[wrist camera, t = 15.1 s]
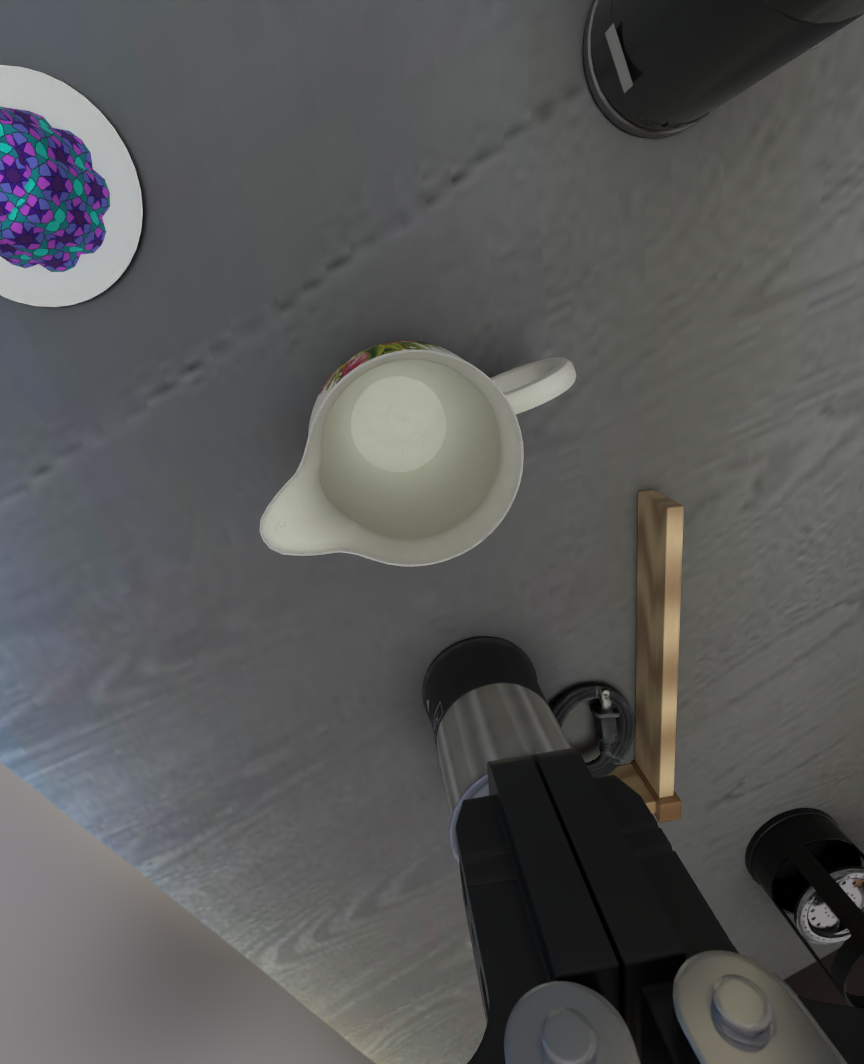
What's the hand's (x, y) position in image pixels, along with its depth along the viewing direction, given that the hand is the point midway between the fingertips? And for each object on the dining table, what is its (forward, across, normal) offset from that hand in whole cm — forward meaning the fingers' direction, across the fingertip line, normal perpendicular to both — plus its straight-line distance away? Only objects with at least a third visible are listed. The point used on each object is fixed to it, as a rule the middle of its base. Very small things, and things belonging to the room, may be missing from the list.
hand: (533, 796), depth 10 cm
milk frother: (+33, +8, -21) cm, 40 cm away
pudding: (+33, -19, +17) cm, 42 cm away
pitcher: (+33, +1, +2) cm, 33 cm away
